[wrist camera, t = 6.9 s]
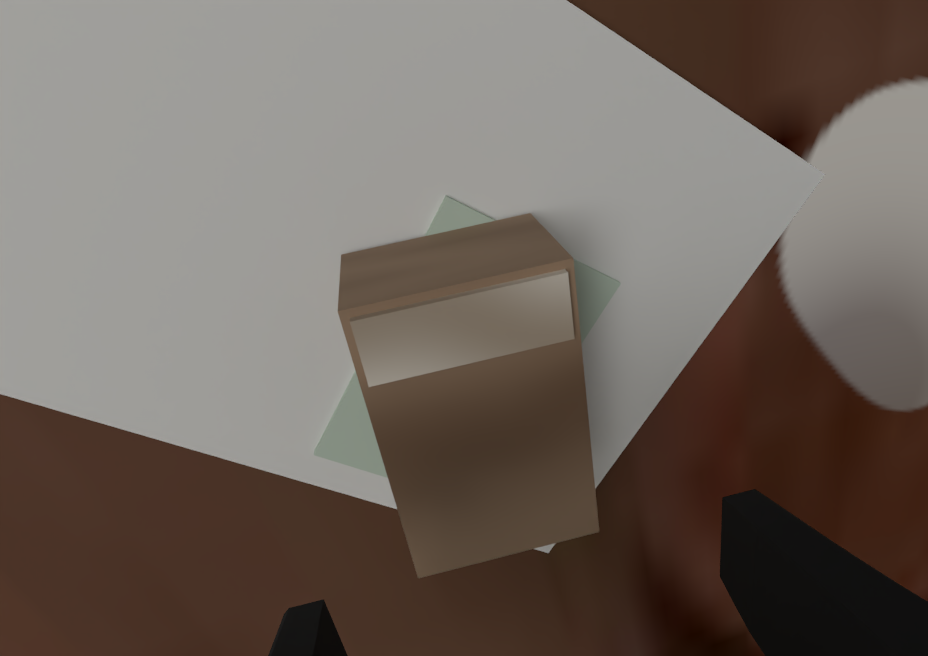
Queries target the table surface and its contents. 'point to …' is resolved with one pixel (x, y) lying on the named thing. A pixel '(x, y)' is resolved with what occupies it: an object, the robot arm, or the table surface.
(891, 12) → the table surface
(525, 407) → the brown rectangular block
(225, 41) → the grey mat
